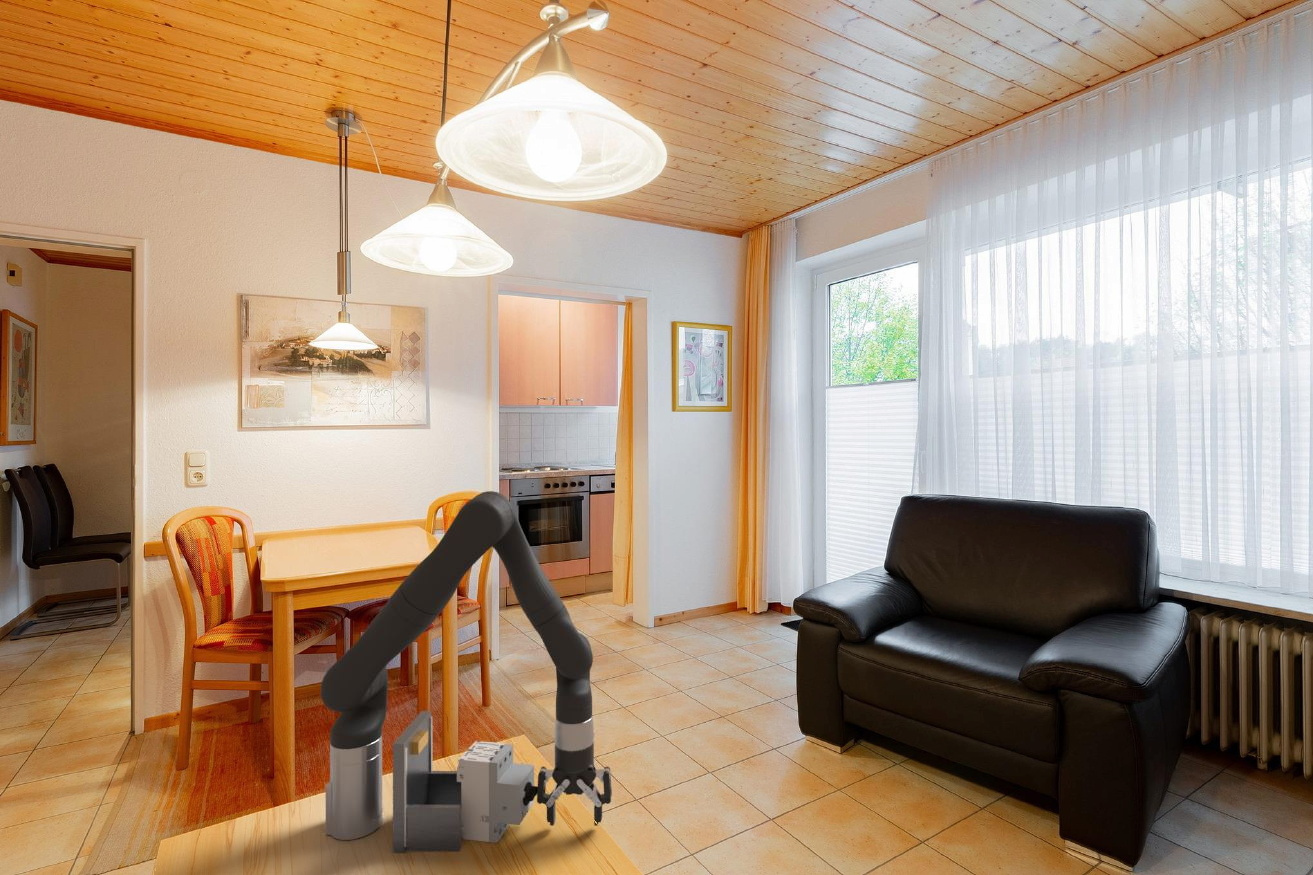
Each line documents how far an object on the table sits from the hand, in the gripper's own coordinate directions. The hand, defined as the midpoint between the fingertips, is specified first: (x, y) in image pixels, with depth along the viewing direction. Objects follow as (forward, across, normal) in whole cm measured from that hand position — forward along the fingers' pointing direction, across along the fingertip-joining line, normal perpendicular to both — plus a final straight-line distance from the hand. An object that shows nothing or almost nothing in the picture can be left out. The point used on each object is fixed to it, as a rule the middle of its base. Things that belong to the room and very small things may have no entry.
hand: (574, 823), depth 124 cm
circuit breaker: (+1, -14, 0) cm, 14 cm away
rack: (+1, -27, 0) cm, 27 cm away
